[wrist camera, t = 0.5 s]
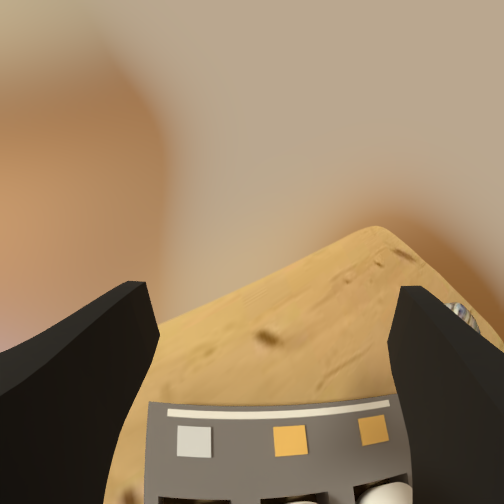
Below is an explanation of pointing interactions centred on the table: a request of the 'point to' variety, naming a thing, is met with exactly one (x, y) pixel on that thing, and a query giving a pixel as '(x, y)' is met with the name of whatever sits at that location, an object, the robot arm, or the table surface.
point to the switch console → (274, 450)
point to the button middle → (300, 502)
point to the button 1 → (387, 494)
